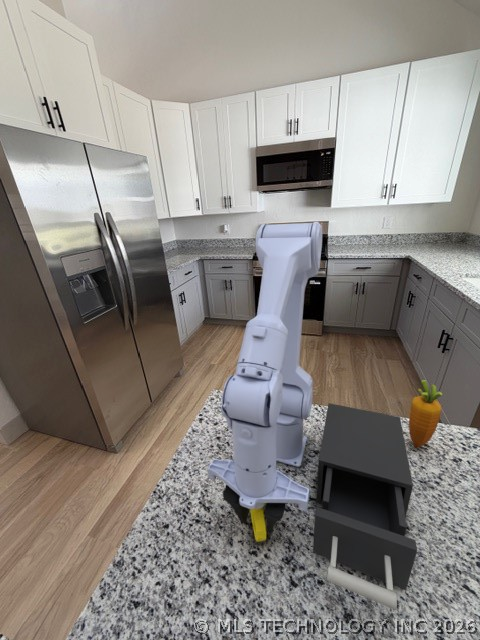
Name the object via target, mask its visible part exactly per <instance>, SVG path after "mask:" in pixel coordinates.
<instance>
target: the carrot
mask: <svg viewBox="0 0 480 640" xmlns="http://www.w3.org/2000/svg"><path fill="white" fill-rule="evenodd" d="M420 384H421V386H422V388H423V390H424V391H423V390H422V389H421V388H418V389H417V390H418V392H419V393H420V395H418V396H414V397H412V400H411V406H410V411H409V418H408V431H409V437H410V440H411V442H412V444H413V446H414V447H415V448H417V449H418V448H422V447H423V446H425V445H426V444H427V443H428V442H429V441H430V440H431V439H432V437H433V435H434V434H435V432H436V430H437V427H438V425H439V421H440V418H441V414H442V404H440V402H439V401H437V399H438V398H440V397H442V396H443V393H442V392H441V391H437V386H436V385H435V384H431V385H430V387H429V384H428V381H427V380H425V379H422V380H420Z"/></svg>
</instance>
